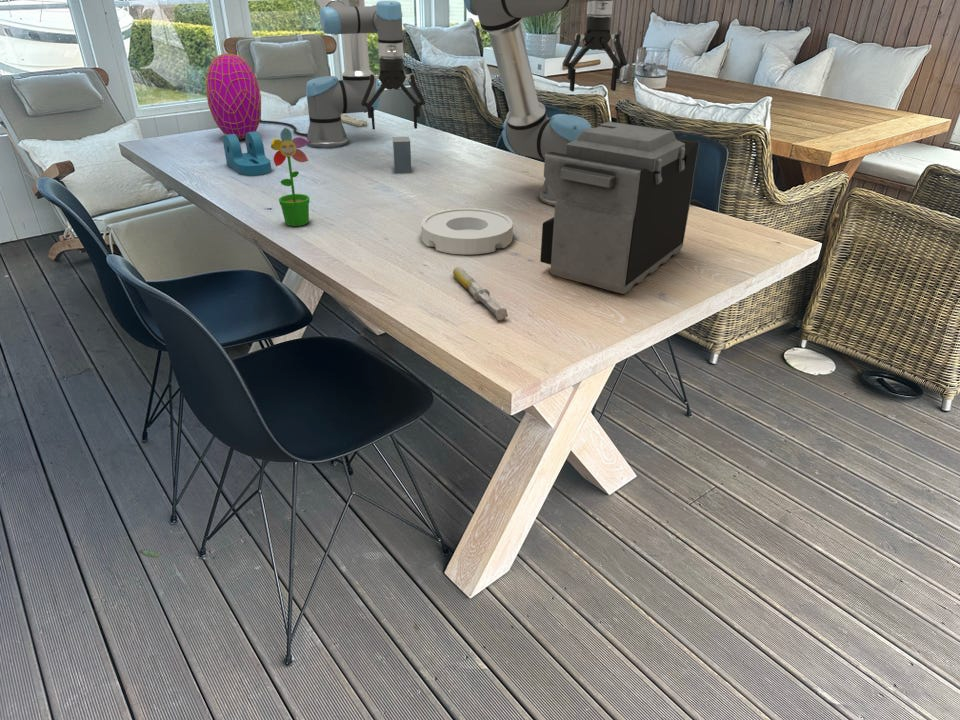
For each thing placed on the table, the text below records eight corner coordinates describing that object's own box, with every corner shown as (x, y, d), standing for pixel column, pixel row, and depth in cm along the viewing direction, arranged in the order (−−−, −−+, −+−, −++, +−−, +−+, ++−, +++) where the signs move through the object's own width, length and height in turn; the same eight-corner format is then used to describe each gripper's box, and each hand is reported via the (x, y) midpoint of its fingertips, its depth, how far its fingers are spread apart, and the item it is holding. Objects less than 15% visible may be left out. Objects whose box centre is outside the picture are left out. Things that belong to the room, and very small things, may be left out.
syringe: (449, 274, 155) (449, 263, 153) (465, 272, 156) (464, 260, 154) (490, 323, 135) (491, 310, 133) (508, 319, 136) (508, 307, 134)
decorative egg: (252, 130, 278) (239, 49, 262) (275, 139, 265) (264, 54, 250) (206, 137, 266) (190, 53, 251) (228, 146, 254) (213, 59, 239)
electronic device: (606, 230, 180) (619, 111, 165) (687, 249, 169) (709, 123, 154) (532, 275, 155) (539, 139, 140) (621, 301, 144) (640, 156, 128)
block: (393, 168, 232) (392, 137, 227) (410, 167, 233) (408, 136, 228) (394, 173, 226) (393, 141, 221) (411, 172, 227) (410, 141, 222)
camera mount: (227, 164, 233) (221, 132, 227) (257, 160, 238) (252, 129, 233) (244, 176, 220) (239, 143, 215) (276, 172, 225) (271, 139, 220)
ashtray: (426, 221, 185) (425, 207, 183) (512, 223, 185) (512, 208, 183) (416, 253, 165) (416, 237, 163) (512, 255, 165) (513, 239, 163)
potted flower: (284, 229, 179) (270, 130, 166) (277, 220, 185) (263, 124, 172) (319, 224, 183) (308, 127, 170) (311, 215, 188) (300, 121, 176)
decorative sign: (319, 115, 301) (339, 112, 307) (320, 117, 301) (339, 114, 307) (352, 125, 284) (372, 122, 290) (352, 127, 284) (372, 124, 290)
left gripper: (350, 59, 207) (355, 131, 218) (432, 58, 211) (434, 129, 222) (350, 55, 214) (355, 126, 224) (430, 55, 217) (431, 124, 228)
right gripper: (562, 17, 203) (557, 93, 214) (642, 17, 206) (634, 91, 217) (555, 15, 209) (551, 89, 220) (634, 15, 213) (626, 87, 223)
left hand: (394, 128), depth 223 cm, fingers open, 13 cm apart
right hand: (592, 90), depth 218 cm, fingers open, 13 cm apart
